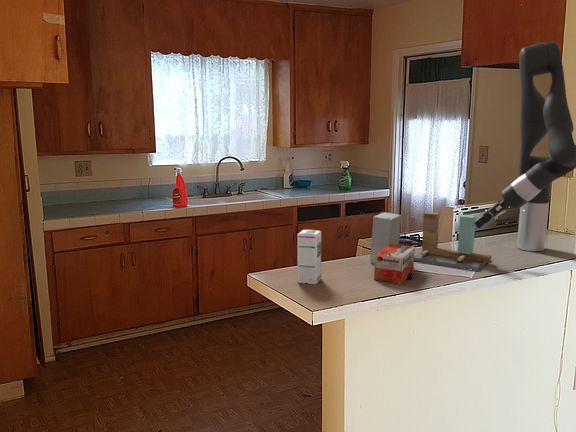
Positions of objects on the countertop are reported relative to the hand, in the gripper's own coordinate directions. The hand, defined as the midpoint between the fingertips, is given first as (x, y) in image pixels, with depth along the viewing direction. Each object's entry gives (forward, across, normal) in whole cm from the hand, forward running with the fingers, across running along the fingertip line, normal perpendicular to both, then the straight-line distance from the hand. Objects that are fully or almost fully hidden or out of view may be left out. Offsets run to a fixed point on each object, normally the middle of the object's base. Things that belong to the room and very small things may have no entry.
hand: (480, 223), depth 174 cm
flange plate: (+15, +2, +4) cm, 15 cm away
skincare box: (+27, +18, -8) cm, 33 cm away
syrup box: (+33, +49, -16) cm, 61 cm away
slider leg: (+11, +3, +5) cm, 12 cm away
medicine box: (+21, +29, -2) cm, 36 cm away
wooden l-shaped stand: (+13, +3, +3) cm, 14 cm away
